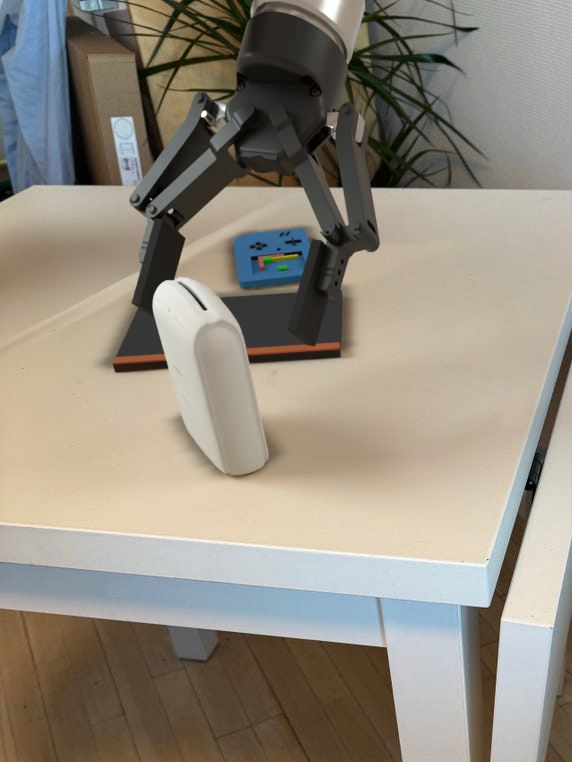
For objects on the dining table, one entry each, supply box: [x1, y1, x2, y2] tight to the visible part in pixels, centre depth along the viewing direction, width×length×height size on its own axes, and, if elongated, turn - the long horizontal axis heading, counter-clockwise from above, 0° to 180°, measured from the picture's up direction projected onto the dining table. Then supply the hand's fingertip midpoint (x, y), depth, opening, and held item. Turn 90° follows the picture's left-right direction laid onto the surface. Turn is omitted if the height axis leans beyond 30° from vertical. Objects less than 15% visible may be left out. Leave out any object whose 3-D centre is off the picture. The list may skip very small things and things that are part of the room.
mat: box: [112, 289, 344, 373], centre depth 86 cm, size 20×14×1 cm
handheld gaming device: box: [233, 227, 311, 290], centre depth 99 cm, size 8×1×15 cm
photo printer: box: [153, 276, 270, 476], centre depth 66 cm, size 10×4×12 cm, turn 32°
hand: (221, 325), depth 66 cm, fingers open, 13 cm apart
